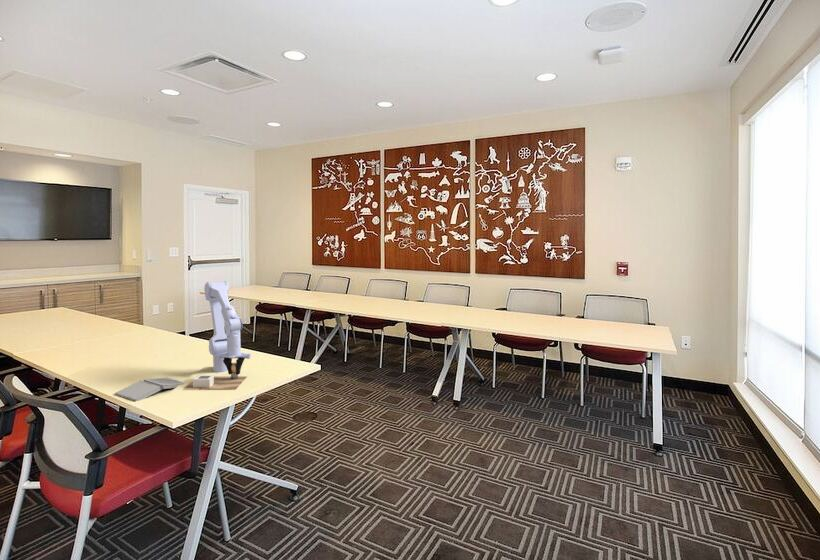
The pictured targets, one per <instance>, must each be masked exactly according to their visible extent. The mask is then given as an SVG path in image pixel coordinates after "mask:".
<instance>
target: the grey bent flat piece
mask: <svg viewBox="0 0 820 560" xmlns="http://www.w3.org/2000/svg"><path fill="white" fill-rule="evenodd" d="M185 384H186V383H185V382H183V381H181V380H177V379H174V378H171V377H158V378H147V379H143V380H139V381H137V382H135V383H132V384H130V385H128V386H126V387H124V388H123V389H120V390H118V391H115V393H114V394H115V395H116V396H118V397H122V398H125V399H127V400H130V401H133V402H139V401H142V400H144V399H146V398H148V397H151V396H152V395H155V394H156V393H158V392H160V391H162V390H166V389H174V388H175V389H176V388H177V387H179V386H182V385H185Z"/></svg>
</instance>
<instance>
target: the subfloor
mask: <svg viewBox="0 0 820 560" xmlns="http://www.w3.org/2000/svg"><path fill="white" fill-rule="evenodd" d="M213 376H214V375H213ZM247 377H248V376H247V375H246V376H241V375H240V376H239V375H238V379H234V380H232V379H231V375H230V376H223V375H222V376H221V375H220V376H214V384H213V385H212V386H211V387H193V381H192V382H190V383H189V384H187V385H186V386H185V387H184V388H183V389H182V391H236V390H237V389H238V388H239V387H240V386H241V385H242V383H243V382H245V380H246V379H247Z"/></svg>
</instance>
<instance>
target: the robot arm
mask: <svg viewBox="0 0 820 560" xmlns="http://www.w3.org/2000/svg"><path fill="white" fill-rule="evenodd" d="M203 290H204V297H205V300H206V301H208V302H209V306H210V311H211V312H210V313H211V320H212V327H213V336H212V337H211V338H209V340H208V352H209V354H210V355H212V357H213V358H212V362H213V363H212V364H213V366H212V367H213V372H214V373H225V372H227V373H228V374H227V375H231V368H230V364H231V363H233V362H232V360H233V359H236V360H235V361H236V362H235V363H237V374H238V375H240V374H241V369H242V367H243V364H244V361H245V359H248V360H250V359H251V358H252V354H251V353H247V352H246V353H245V352H242V351H241V348H242V346H241V331H242V330H243V326H244V325H243V320H242V318H241V317H240V316H239V315H238V314H237V312H236V310H235V308H234V306H233V305H231V304H230V299H229V295H228V294H229V291H230V284H229V283H228V281H226V280H224V281H209V282H208V281H207V282H206V283H205V284H204V289H203Z"/></svg>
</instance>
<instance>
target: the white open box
mask: <svg viewBox="0 0 820 560" xmlns="http://www.w3.org/2000/svg"><path fill="white" fill-rule="evenodd" d="M192 382H193V387H211V386H212V385H213V384H214V375H196V376H195V377H194V378H192Z"/></svg>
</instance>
